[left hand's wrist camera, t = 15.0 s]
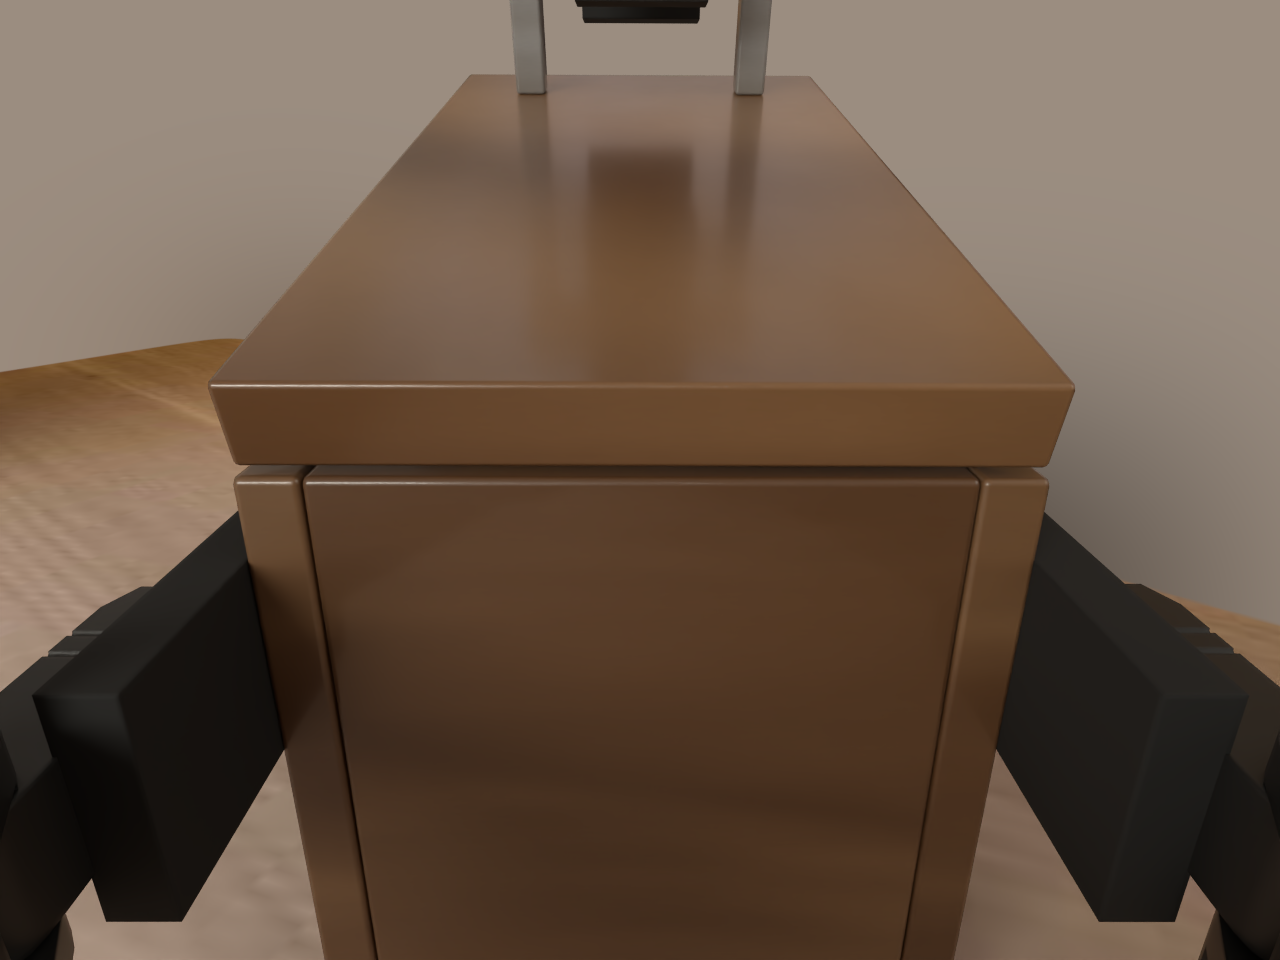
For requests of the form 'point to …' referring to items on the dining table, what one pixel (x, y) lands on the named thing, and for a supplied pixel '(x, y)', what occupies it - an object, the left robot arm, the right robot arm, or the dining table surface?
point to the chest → (640, 702)
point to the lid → (640, 294)
